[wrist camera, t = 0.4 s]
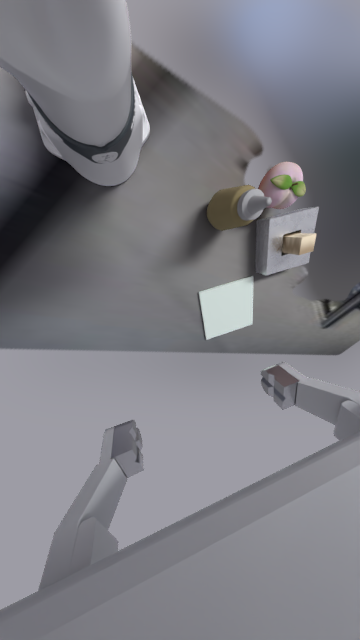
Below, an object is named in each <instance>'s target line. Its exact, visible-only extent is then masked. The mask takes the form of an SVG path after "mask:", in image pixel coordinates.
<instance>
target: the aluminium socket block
mask: <svg viewBox="0 0 360 640" xmlns="http://www.w3.org/2000/svg"><path fill="white" fill-rule="evenodd" d="M318 209H319V207H312V208H304V209H299V210H295V211H291V212H287V213H283V214H279V215H275V216H271V217H268V218H264V219H260V220H257V225H256V262H255V272H257V273H260V274H263V275H270V274H273V273H276V272H280V271H283V270H286V269H290V268H293V267H296V266H299V265H303V264H306V263H309V257H310V252H308V253H305V254H302V255H295V254H288V253H282V243H283V235H284V234H287V233H313V234H314V230H315V225H316V220H317V214H318Z"/></svg>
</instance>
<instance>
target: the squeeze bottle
mask: <svg viewBox="0 0 360 640" xmlns="http://www.w3.org/2000/svg"><path fill="white" fill-rule="evenodd" d="M271 202H272V199H271V198H270V197H264V194H263V192H262V191H261V190H260V189H257V188H255V187H253V186H250V185H245V186H239V187H233V188H228V189H222V190H220V191H218V192H217V193H216V194H214V196H213V198H212V199H211V201H210V203H209V205H208V208H207V218H208V220H209V222H210V223H211V224H212V225H213V226H214V227H215V228H216V229H218V230H221V231H223V230H227V229H232V228H237V227H241V226H245V225H248V224H250V223H251V222H252V221H253V220H254V219H256V218H258V217H259V216H260V214H261V213H262V212H263V209H264V208H266V207H268V206H270V204H271Z"/></svg>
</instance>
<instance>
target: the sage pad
mask: <svg viewBox="0 0 360 640" xmlns="http://www.w3.org/2000/svg"><path fill="white" fill-rule="evenodd" d="M199 299H200V305H201V311H202V318H203V324H204V330H205V337H206V340H207V339H210V338H213V337H216V336H219V335H222V334H225V333H228V332H231V331H234V330H237V329H240V328H243V327H246V326H249V325H252V320H253V276H250V277H247V278H243V279H240V280H237V281H233V282H230V283H227V284H223V285H220V286H217V287H213V288H210V289H207V290H203V291H200V292H199Z"/></svg>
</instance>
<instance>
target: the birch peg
mask: <svg viewBox="0 0 360 640" xmlns="http://www.w3.org/2000/svg"><path fill="white" fill-rule="evenodd" d="M315 238H316V234H313V233H287V234H284V235H283V243H282V253H288V254H295V255H302V254H305V253H308V252H311V251H313V248H314V244H315Z"/></svg>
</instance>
